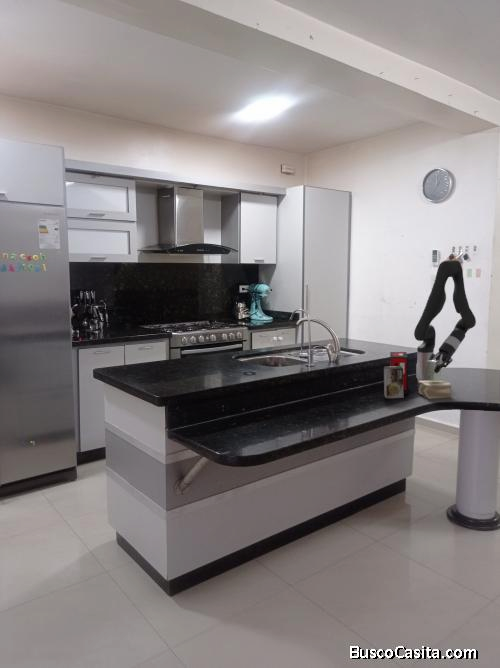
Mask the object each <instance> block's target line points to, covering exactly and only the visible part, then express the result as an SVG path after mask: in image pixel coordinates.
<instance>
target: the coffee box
mask: <svg viewBox="0 0 500 668" xmlns="http://www.w3.org/2000/svg"><path fill="white" fill-rule="evenodd" d="M383 385H384V386H383V387H384V388H383V389H384V390H383V392H384V394H383V395H384V398H385V399H404V398H405V397H404V396H405V395H404V394H405V393H404V391H403V368H402V367H401V366H390V365H387V366H386V365H385V366H383Z"/></svg>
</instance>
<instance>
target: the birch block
mask: <svg viewBox="0 0 500 668" xmlns="http://www.w3.org/2000/svg"><path fill="white" fill-rule="evenodd" d="M417 383H418V394H420V395H421V396H423V397H425V398H427V399H429V400H433V399H445V398H452V386H453V384H452V383H450V382H448V381H445V380H437V381H432V380H422V381H420V380H417Z"/></svg>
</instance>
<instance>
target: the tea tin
mask: <svg viewBox="0 0 500 668" xmlns="http://www.w3.org/2000/svg"><path fill="white" fill-rule="evenodd" d="M439 363H440V361H439V360H436V359H435V360H428V361H427V379H429V380H432V381H437V380H442V379H443V378H442V377H443V376H442V375H443V374H442V372H443V371H442V370H443V368H441V369H440V371H439V372H438V373H435V372H434V370H435V369H436V367H437V366H439Z"/></svg>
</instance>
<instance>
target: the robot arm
mask: <svg viewBox="0 0 500 668" xmlns="http://www.w3.org/2000/svg"><path fill="white" fill-rule="evenodd" d="M463 271H464V270H463V265H462V263H461V261H459V260H457V259H447V260H446V259H445V260H442V261H441V262H440V264H438V267H437V271H436V274H435V279H434V282H433V286H432V288H431V291H430V293H429V295H428V299H427V301H426V304H425V306H424V309H423V311H422V314H421V316H420V319H419V320H418V322H417V325H416V326H415V328H414V331H413V336H414V338H415V340H416V341H419V342H422V343H421V344H420V345H419V346H417V348H416V349H417V351H416V352H417V354H416V355H417V358H416V360H417V361H416V362H417V363H416V364H415V365H416V367H415V368H416V373H415V374H416V375H415V376H416V378H417V381H422V380H429V379H427V361H428V360H439V361H440V363H439V366H437V367H436V369H435V370H434V372H435V373H438V372H439V371H440V369H441V368H442V369H443V368H447V367H448V366H450V365H451V363H452V362H453V358H452V357H453V355H454V354H455V353H456V351H457V350H458V348H459V346H460V345H461V343H462V342H463V341H464V339H465V337H466V334H467V333H468V331H469V330H471V329H473V328H474V327H475V326H476V324H477V320H476V317H475V315H474V313H473V311H472V308H471V307H470V305H469V304H470V303H469V302H468V298H467V294H466V289H465V280H464V274H463V273H464V272H463ZM449 278H452V281H453V286H454V287H453V293H452V302H453V304H454V305H453V306H454V309H455V311H456V313H457V314H459V315H460V319H459V320H458V321H457V323H456V324H455V325H454V328H453V330H452V331H451V332H450V334H449V335H448V336H447V337H446V338H445V340H444V341H443V342H442V344H441V345H440V346H439V348H438V352H436V353H435V354H434V352H435V351H434V349H435V347H436V335H437V334H436V329H435V326H434V325H432V324H431V323H432V321H433V320H434V319H435V318H436V317H437V316H438V315H439V314H440V313H441V312H442V310H443V308H444V306H445V303H446V301H447V293H446V284H447V282H448V279H449ZM416 378H415V379H416Z"/></svg>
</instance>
